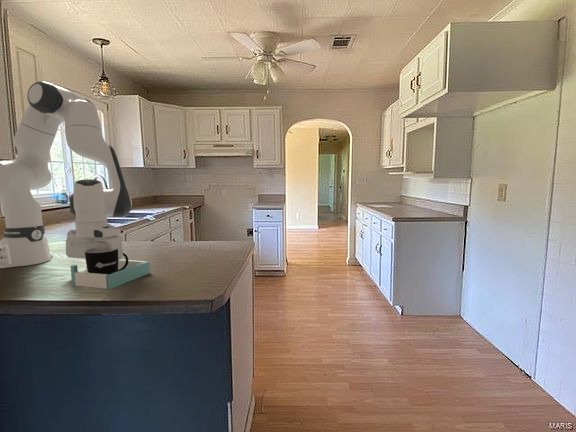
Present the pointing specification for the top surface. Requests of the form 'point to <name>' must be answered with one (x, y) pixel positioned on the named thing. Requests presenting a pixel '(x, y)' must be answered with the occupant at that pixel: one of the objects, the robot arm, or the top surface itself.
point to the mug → (103, 261)
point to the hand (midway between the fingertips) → (95, 272)
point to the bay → (110, 275)
